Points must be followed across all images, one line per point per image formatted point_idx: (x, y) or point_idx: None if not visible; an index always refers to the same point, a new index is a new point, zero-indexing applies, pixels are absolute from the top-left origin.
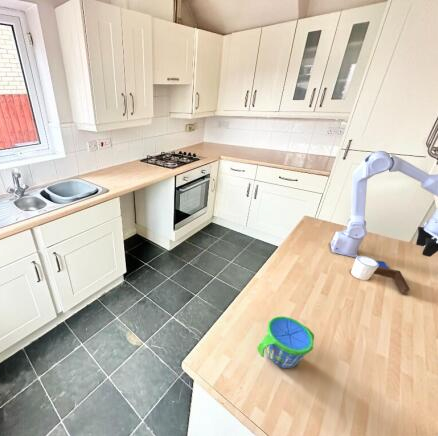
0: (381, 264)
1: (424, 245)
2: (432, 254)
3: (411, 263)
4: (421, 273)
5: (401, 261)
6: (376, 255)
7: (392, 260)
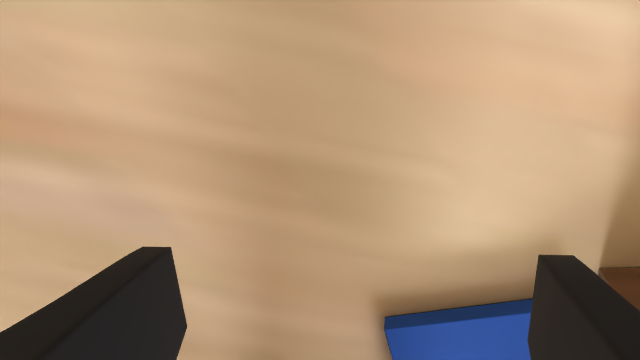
0: (452, 355)
1: (160, 257)
2: (606, 291)
3: (219, 84)
4: (396, 33)
5: (239, 166)
6: (261, 335)
7: (273, 236)
